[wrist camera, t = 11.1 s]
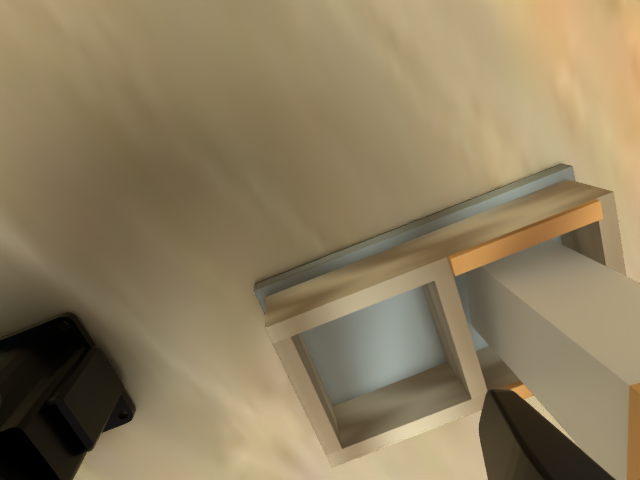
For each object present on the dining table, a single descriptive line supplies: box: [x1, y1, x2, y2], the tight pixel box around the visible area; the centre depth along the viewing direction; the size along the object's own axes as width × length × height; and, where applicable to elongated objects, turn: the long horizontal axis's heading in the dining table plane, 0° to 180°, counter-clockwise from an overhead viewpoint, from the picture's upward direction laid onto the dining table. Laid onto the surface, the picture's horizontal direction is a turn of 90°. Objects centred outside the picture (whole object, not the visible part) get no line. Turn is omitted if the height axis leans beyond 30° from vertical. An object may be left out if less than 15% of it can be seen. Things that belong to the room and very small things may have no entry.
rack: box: [254, 164, 626, 467], centre depth 21 cm, size 16×9×4 cm, turn 111°
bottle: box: [466, 239, 640, 480], centre depth 15 cm, size 4×4×14 cm
